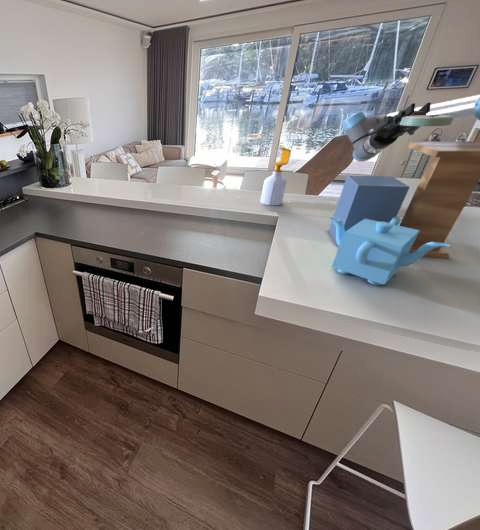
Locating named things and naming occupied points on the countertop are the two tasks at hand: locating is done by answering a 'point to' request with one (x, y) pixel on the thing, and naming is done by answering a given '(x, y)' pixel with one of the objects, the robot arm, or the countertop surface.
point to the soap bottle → (275, 182)
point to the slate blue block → (368, 200)
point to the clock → (425, 119)
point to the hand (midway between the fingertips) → (420, 107)
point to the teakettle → (377, 249)
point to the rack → (442, 191)
